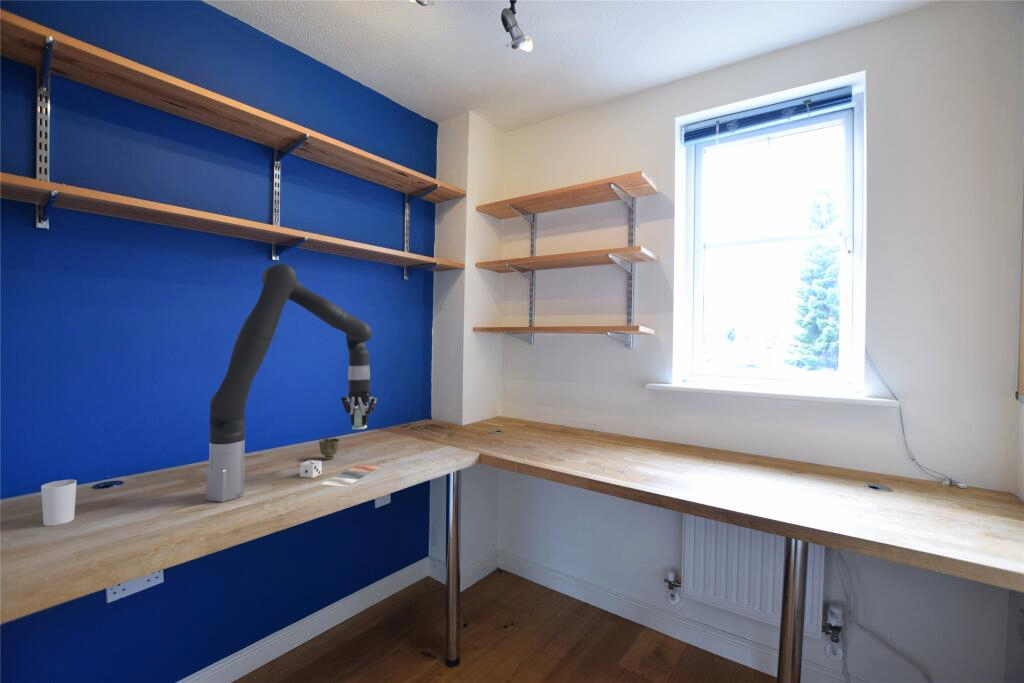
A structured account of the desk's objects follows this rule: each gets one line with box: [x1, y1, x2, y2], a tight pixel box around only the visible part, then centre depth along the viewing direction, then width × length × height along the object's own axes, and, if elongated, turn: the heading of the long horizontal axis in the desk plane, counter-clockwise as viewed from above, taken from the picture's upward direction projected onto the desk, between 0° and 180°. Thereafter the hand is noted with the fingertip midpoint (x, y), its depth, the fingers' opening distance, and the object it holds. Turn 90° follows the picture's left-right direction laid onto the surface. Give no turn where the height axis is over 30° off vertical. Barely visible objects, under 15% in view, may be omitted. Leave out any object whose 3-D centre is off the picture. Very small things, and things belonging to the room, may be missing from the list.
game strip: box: [321, 463, 385, 488], centre depth 161 cm, size 25×11×1 cm, turn 168°
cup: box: [318, 437, 340, 461], centre depth 181 cm, size 8×7×8 cm
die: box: [299, 459, 323, 479], centre depth 159 cm, size 5×5×5 cm
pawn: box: [351, 407, 368, 430], centre depth 163 cm, size 5×5×7 cm
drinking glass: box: [40, 479, 77, 527], centre depth 118 cm, size 7×7×10 cm
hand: (359, 424), depth 163 cm, fingers closed on pawn, 3 cm apart
